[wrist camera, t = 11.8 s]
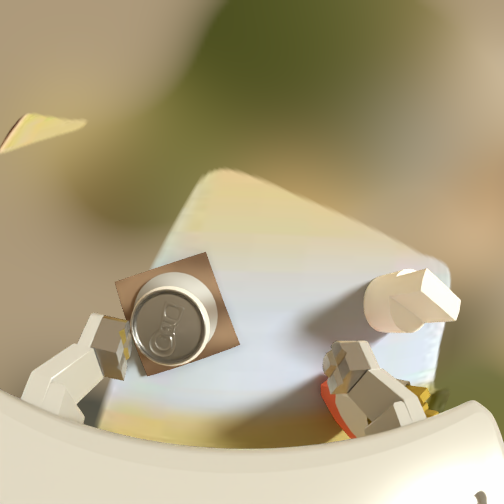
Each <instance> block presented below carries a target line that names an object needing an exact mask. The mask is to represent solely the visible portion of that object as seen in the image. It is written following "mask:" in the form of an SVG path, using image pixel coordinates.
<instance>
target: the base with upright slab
mask: <svg viewBox="0 0 504 504" xmlns="http://www.w3.org/2000/svg"><path fill="white" fill-rule="evenodd" d="M460 302H461V300H460V299H459V298H458V297H457V296H456V295H455V294H454V293H453V292H452V291H451V290H450V289H449V288H448V287H447V286H446V285H444V284H443V283H442V282H441V281H440V280H439V279H438V278H437V277H436V276H435V275H434V274H433V273H432V272H431V271H429V270H428V269H423V270H419V271H416V270H413V269H405V270H401V271H397V272H394V273H390V274H386V275H382V276H379V277H377V278H375V279H373V280H372V282H371V283H370V284H369V285H368V287H367V289H366V291H365V295H364V301H363V307H364V314H365V317H366V320H367V321H368V323H369V324H370V326H371V327H372V328H373V329H375V330H376V331H379V332H386V333H413V332H415V331H418V330H419V329H420V328H421V327H422V326H423V325H424V323H431V322H447V321H456V319H457V316H458V313H459V309H460Z"/></svg>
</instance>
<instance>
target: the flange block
mask: <svg viewBox="0 0 504 504" xmlns="http://www.w3.org/2000/svg"><path fill="white" fill-rule="evenodd" d="M115 285H116V289H117V292H118V295H119V298H120V302H121V305H122V309H123V312H124V315H125V318H126V320H127V321H129V322H130V323H131V315H132V312H133V309H134V307H135V305H136V303H137V302H138V301H139V299H140V298H141V297H142V296H143V295H145V294H146V293H147V292H149V291H151V290H153V289H155V288H158V287H163V286H174V287H179V288H182V289H185V290H187V291H189V292H190V293H192V294H193V295H195V296H196V297H197V298H198V299H199V300H200V302H201V303H202V304H203V306H204V307H205V309H206V311H207V314H208V317H209V322H210V334H209V338H208V341H207V344H206V346H205V348H204V349H203V351H202V352H201V353H200V354H199V355H198V356H197V357H196V358H195V359H193V360H192V361H190V362H188V363H191V362H194V361H197V360H200V359H203V358H206V357H209V356H211V355H214V354H217V353H220V352H222V351H225V350H228V349H230V348H233V347H236V346H238V345H240V343H239V341H238V338H237V336H236V333H235V331H234V328H233V325H232V323H231V320H230V317H229V315H228V312H227V310H226V307H225V304H224V301H223V299H222V296H221V293H220V291H219V288H218V285H217V282H216V280H215V277H214V274H213V271H212V268H211V265H210V263H209V260H208V257H207V254H206V252H204V253H201V254H198V255H195V256H192V257H188V258H185V259H182V260H179V261H176V262H173V263H170V264H167V265H164V266H161V267H158V268H155V269H152V270H149V271H146V272H143V273H140V274H137V275H134V276H131V277H128V278H125V279H122V280H119V281H116V282H115ZM130 333H131V325H130ZM131 335H132V333H131ZM132 338H133V337H132ZM133 341H134V340H133ZM134 344H135V342H134ZM135 346H136V344H135ZM136 349H137V352H138V354H139V357H140V359H141V362H142V364H143V367H144V369H145V372H146V374H147V376H150V375H154V374H157V373H160V372H164V371H167V370H170V369H173V368H176V367H179V366H182V365H178V366H166V365H161V364H158V363H156V362H153V361H152V360H150V359H148V358H147V357H146V356H145V355H144V354H143V353H142V352H141V351H140V350H139V349H138V347H137V346H136ZM188 363H186V364H188ZM183 365H185V364H183Z"/></svg>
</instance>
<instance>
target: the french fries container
mask: <svg viewBox="0 0 504 504" xmlns="http://www.w3.org/2000/svg"><path fill="white" fill-rule="evenodd" d="M396 380H398V381H399V382H400V383H401V384H402V385H404V386H405V387H406V388H407V389H409V390H410V391H411V392H412V393H414V394H415V395H416V396H417V397H418V399H419V401H420V404H421V406H422V408H423V410H424V413H425V415H426V417H427V418H429V417H432V416H434V415H437V414H438V412H437V411H432V410H428V405H427V403H426V402H425V401H426V400H427V399H428V398H429V396H430V393H429V391H428V389H427V388H424V387H416V386H411V385H410V382H409V381H404V380H399V379H396ZM327 381H328V380H326V381H325V382H324V383H322V384H321V396H322V398H323V400H324V402H325V403H326V405H327V407H328V409H329V411H330V412H331V414H332V416H333V418H334V419H335V421H336V422H337V423H338V425H339V426H340V427H341V428H342V429H343V430H344V431H345V433H346V434H347V435H348V436H349V437H350V438H351V439H353V438H358V437H363V436H366V435H365V432H364V429H365V427H367V426H368V425H369V424H370V423H371V422H372V421H371V420H370V419H369V418H368V417H367V416H366V415H365V414H364V413H363V411H362V410H361V409H360V408H359V407H358V406H357V405H356V404H355V403H354V401H353V400H352V399H351V398H350V397H349V396H348V395H347V394H348V393H347V394H330V391H329V387H328V384H327Z"/></svg>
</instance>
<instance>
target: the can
mask: <svg viewBox="0 0 504 504" xmlns="http://www.w3.org/2000/svg"><path fill="white" fill-rule="evenodd" d="M130 325H131V333H132V337H133V340H134V342H135V344H136V346H137V347H138V349H139V350H140V351H141V352H142V353H143V354H144V355H145V356H146V357H147V358H148V359H150V360H152V361H153V362H156V363H158V364H161V365H166V366H178V365H183V364H186V363H188V362H190V361H192V360H193V359H195V358H196V357H197V356H198V355H199V354H200V353H201V352H202V351H203V349H204V348H205V346H206V344H207V341H208V338H209V334H210V322H209V317H208V314H207V311H206V309H205V307H204V306H203V304H202V303H201V302H200V300H199V299H198V298H197V297H196V296H195V295H193V294H192V293H190V292H189V291H187V290H185V289H182V288H179V287H174V286H163V287H158V288H155V289H153V290H151V291H149V292H147V293H146V294H145V295H143V296H142V297H141V298H140V299H139V301H138V302H137V303H136V305H135V307H134V309H133V312H132V315H131V323H130Z"/></svg>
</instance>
